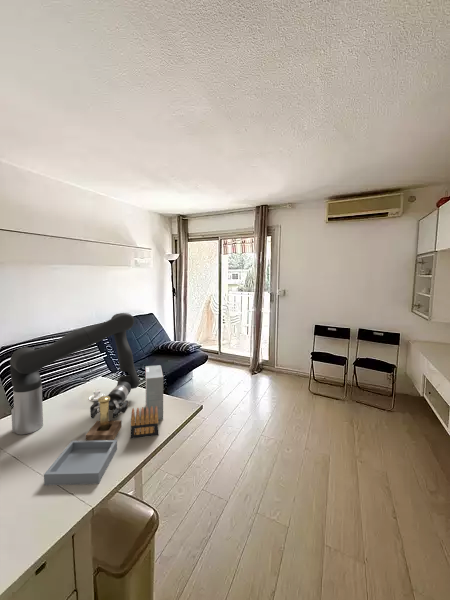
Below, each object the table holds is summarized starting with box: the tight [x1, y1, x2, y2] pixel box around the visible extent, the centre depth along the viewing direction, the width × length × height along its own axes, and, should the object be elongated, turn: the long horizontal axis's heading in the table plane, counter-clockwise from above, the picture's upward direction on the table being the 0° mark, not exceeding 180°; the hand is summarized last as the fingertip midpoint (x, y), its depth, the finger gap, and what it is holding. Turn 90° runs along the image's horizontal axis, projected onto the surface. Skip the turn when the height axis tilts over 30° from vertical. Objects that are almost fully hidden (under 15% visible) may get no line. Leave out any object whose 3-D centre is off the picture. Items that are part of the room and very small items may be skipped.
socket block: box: [85, 419, 123, 441], centre depth 103 cm, size 10×10×3 cm
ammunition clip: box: [129, 406, 159, 439], centre depth 103 cm, size 11×2×12 cm, turn 104°
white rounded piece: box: [88, 388, 104, 402], centre depth 133 cm, size 9×8×4 cm
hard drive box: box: [145, 364, 164, 421], centre depth 120 cm, size 16×8×20 cm, turn 18°
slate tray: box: [43, 439, 118, 486], centre depth 86 cm, size 16×16×4 cm
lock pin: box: [98, 395, 110, 431], centre depth 102 cm, size 4×4×15 cm
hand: (102, 416), depth 101 cm, fingers open, 7 cm apart
